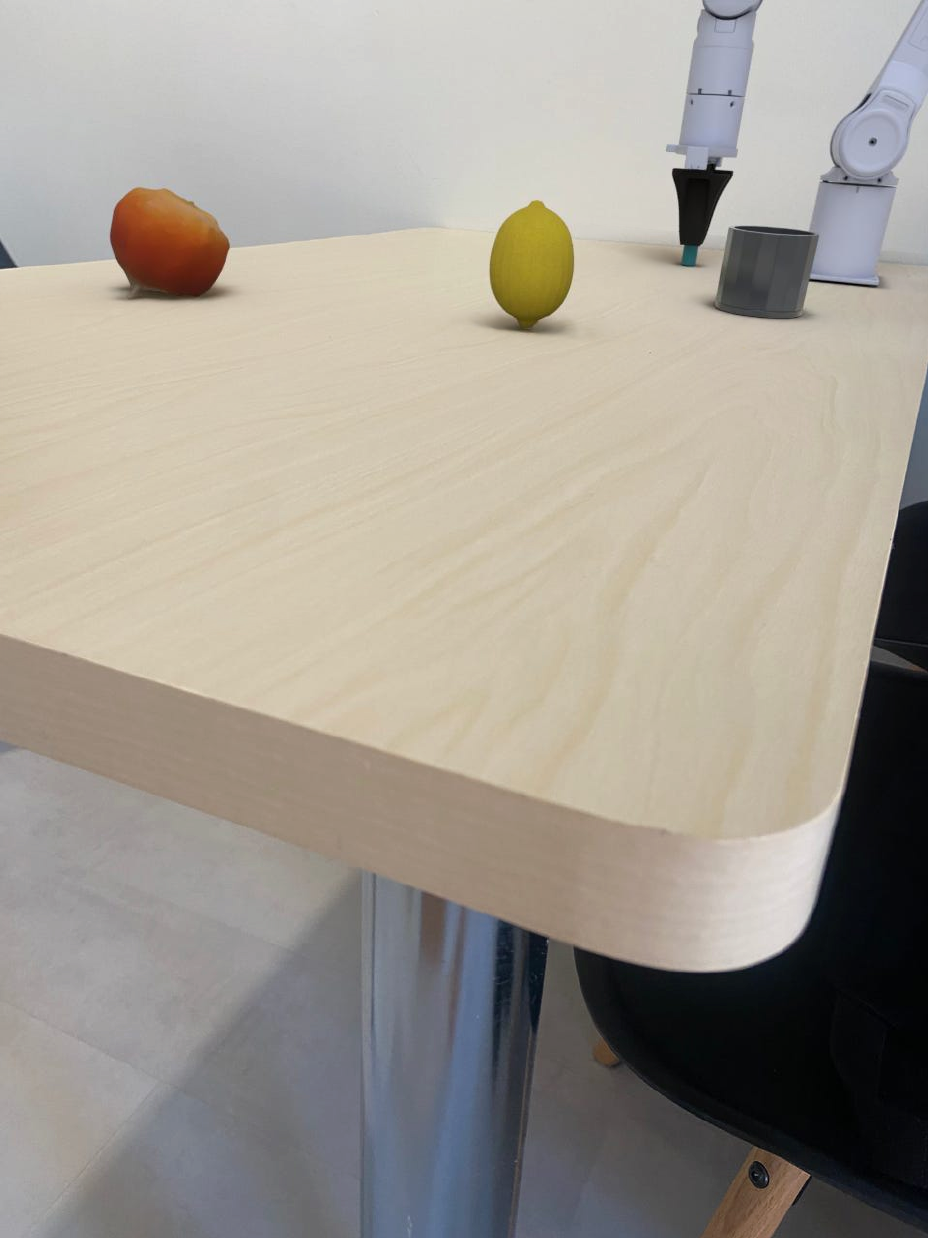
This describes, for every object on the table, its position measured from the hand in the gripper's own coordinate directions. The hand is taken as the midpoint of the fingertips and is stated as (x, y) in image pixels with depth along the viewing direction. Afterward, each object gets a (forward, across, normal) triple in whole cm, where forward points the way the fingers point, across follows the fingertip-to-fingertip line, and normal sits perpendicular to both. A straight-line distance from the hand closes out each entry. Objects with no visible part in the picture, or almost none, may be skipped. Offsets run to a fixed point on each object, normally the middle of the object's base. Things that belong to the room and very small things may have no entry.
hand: (691, 244), depth 96 cm
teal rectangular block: (+2, 0, 0) cm, 2 cm away
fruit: (+2, +47, -31) cm, 56 cm away
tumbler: (+2, +25, +9) cm, 27 cm away
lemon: (+2, +44, -5) cm, 44 cm away
